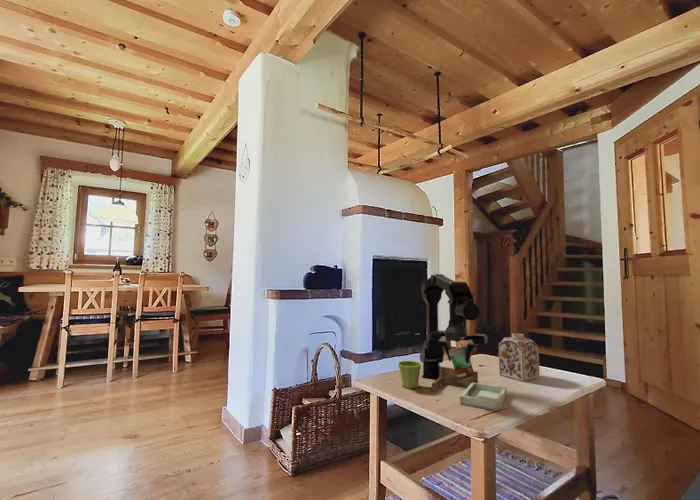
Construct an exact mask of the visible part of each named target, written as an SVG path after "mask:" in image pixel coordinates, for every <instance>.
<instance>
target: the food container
mask: <svg viewBox="0 0 700 500" xmlns="http://www.w3.org/2000/svg"><path fill="white" fill-rule="evenodd" d="M449 355H450V357H451V362H452V365H453V368H454V369H455V371H456V374H457V377H458V380H460V379H464V378H468V377H471V376H473V375H474V369H473V364H472V361H471V360H470V361H469V363H467V345H462V346H459V347H456V348H452V349H451V350H449Z"/></svg>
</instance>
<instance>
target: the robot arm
mask: <svg viewBox="0 0 700 500" xmlns="http://www.w3.org/2000/svg"><path fill="white" fill-rule="evenodd" d="M420 293H421V296H422V299H423V301H424V302H425V304H426V309H425V310H426V339H425V340H424V342H423V343H422V350H421V352H420V354H419V361H420V363H422V375H421V377H422V378H426V379H432V380H437V379H438V378H440V377H441V367H442V366H441V365H440V363H443V361H444V355H445V353H446V356H447V358H448V362H452V360H451V357H450V355H449V350H452V341H453V342H455V343H457V342H460V341H468V342H467V344H466V347H467V363H469V361H471V358H472V355H473V352H474V350H475V347H477V346H478V345H481V346H482V345H484V346H485V345H486V344H488V342H489V341H488V339H489V338H488V335H487V334H486V333H474V334H472V335H470V334H469V335H468V329H467V323H468V321H475V320H476V319H478V317H479V316H480V308H479V307H478V305H477V304H476V303H474V301H475V300H474V295H473V293H472V291H471V289H470V287H469V285H468V283H467V282H466V281H459V280H457V281H456V280H453V279H451V278H449V277H447V276H445V275H444V274H441V273H440V274H439V273H438V274H435V273H433V274H432V275H430V277H429V278H428V279H426V280H425V281H423V283H422V285H421V288H420ZM443 293H444V294H445V295H446V296H447V298H448V301H447V303H448V306H449V307H448V311H449V320H448V325H447V327H446V329H445V330H439V310H438V309H439V308H438V306H439V303H440V301H441V299H442V294H443Z"/></svg>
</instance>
